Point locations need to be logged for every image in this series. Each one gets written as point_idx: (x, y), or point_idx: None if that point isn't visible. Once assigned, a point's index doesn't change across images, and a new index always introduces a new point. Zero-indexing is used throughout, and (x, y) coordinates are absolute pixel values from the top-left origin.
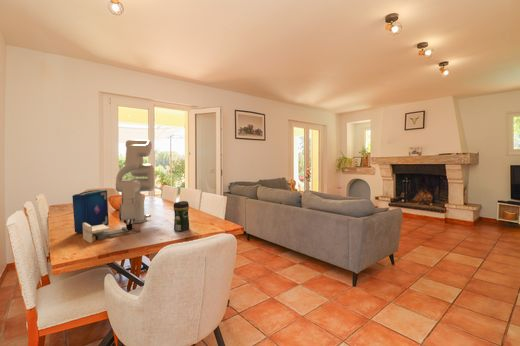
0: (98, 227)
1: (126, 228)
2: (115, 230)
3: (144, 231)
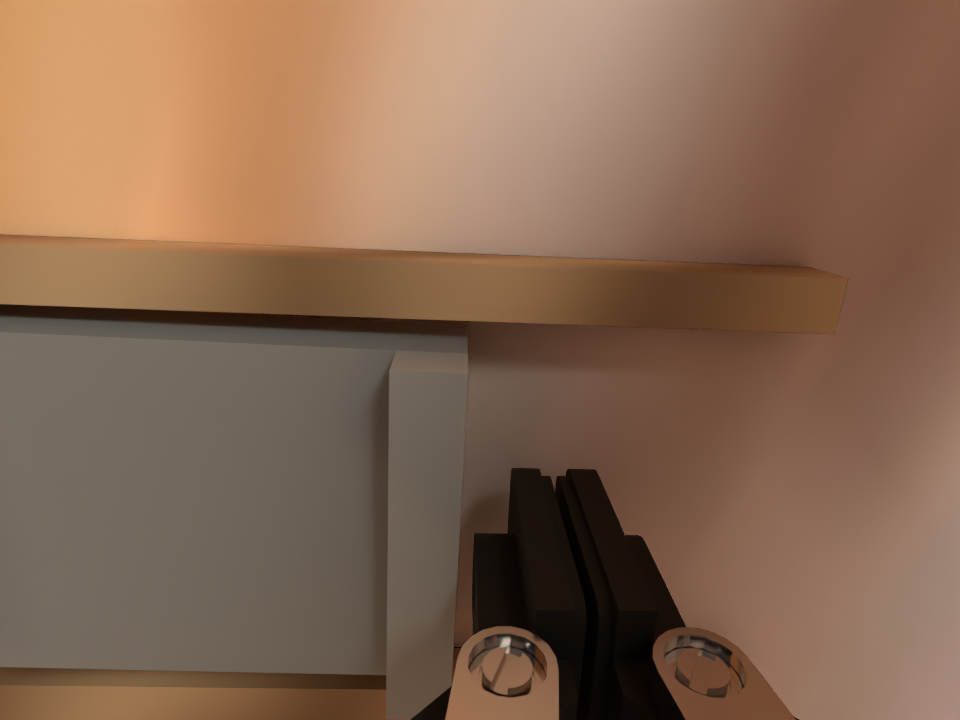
0: None
1: (445, 628)
2: (159, 386)
3: (793, 705)
